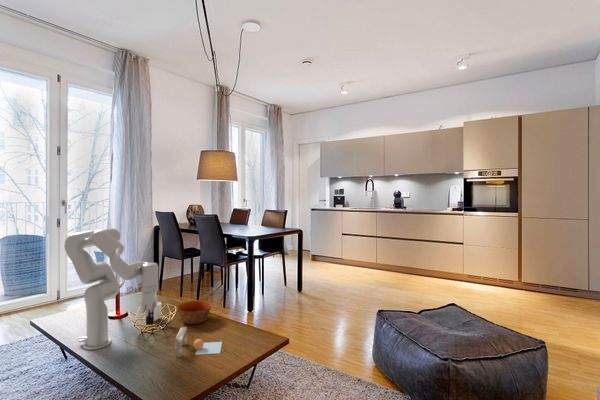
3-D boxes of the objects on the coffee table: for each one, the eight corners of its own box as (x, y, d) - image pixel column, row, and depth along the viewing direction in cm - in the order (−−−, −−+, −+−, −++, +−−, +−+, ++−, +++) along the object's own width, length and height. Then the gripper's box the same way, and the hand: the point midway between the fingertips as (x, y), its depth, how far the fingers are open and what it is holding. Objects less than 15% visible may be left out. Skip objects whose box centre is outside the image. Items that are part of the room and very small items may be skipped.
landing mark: (195, 354, 162) (195, 354, 162) (199, 343, 174) (199, 343, 174) (220, 353, 164) (220, 352, 164) (222, 342, 176) (222, 341, 176)
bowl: (201, 312, 217) (202, 297, 217) (218, 321, 202) (218, 306, 202) (170, 320, 202) (170, 304, 202) (186, 331, 187) (186, 314, 187)
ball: (203, 342, 165) (201, 352, 165) (204, 337, 170) (203, 347, 170) (193, 341, 165) (191, 351, 165) (195, 336, 169) (193, 346, 170)
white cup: (164, 318, 205) (164, 303, 205) (153, 323, 198) (153, 307, 198) (155, 316, 209) (155, 301, 208) (144, 320, 201) (144, 304, 201)
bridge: (174, 357, 159) (174, 339, 159) (180, 343, 173) (180, 327, 173) (181, 356, 160) (181, 339, 160) (186, 343, 174) (186, 327, 173)
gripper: (146, 283, 170) (146, 318, 171) (136, 293, 155) (136, 331, 156) (161, 283, 171) (161, 318, 172) (153, 292, 156) (153, 330, 157)
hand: (149, 324), depth 164 cm, fingers closed
